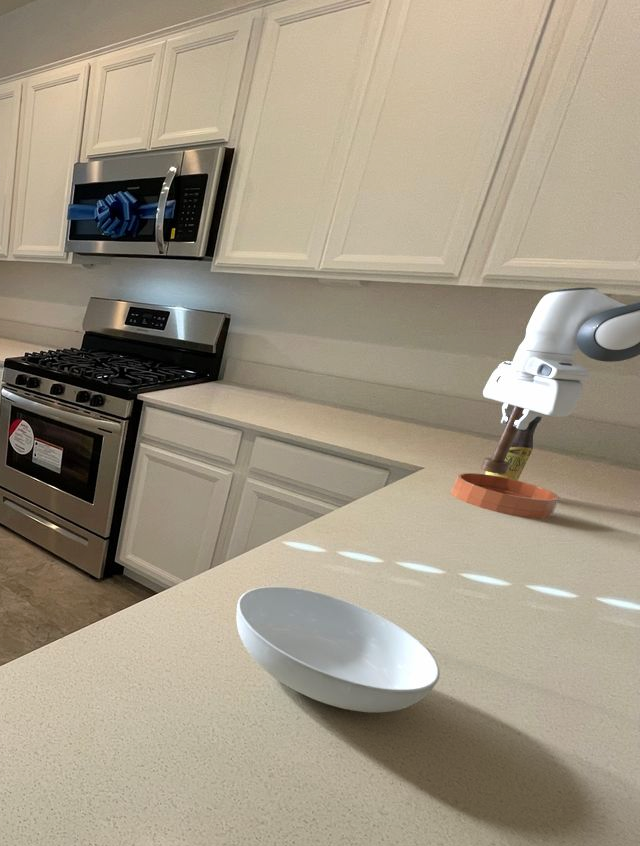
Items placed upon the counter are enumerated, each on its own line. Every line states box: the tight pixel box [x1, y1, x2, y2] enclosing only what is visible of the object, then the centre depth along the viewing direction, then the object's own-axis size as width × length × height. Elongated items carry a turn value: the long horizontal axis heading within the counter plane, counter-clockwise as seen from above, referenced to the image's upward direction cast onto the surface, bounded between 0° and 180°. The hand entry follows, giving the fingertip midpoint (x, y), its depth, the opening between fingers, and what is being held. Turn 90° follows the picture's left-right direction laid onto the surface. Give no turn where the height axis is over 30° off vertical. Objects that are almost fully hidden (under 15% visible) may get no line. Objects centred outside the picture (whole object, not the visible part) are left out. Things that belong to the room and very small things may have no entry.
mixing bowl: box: [449, 472, 561, 520], centre depth 135 cm, size 17×17×6 cm
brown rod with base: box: [480, 406, 524, 474], centre depth 132 cm, size 4×4×17 cm
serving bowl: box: [235, 585, 440, 713], centre depth 73 cm, size 21×21×7 cm
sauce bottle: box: [484, 415, 543, 481], centre depth 148 cm, size 7×6×20 cm
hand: (512, 426), depth 131 cm, fingers closed on brown rod with base, 2 cm apart
